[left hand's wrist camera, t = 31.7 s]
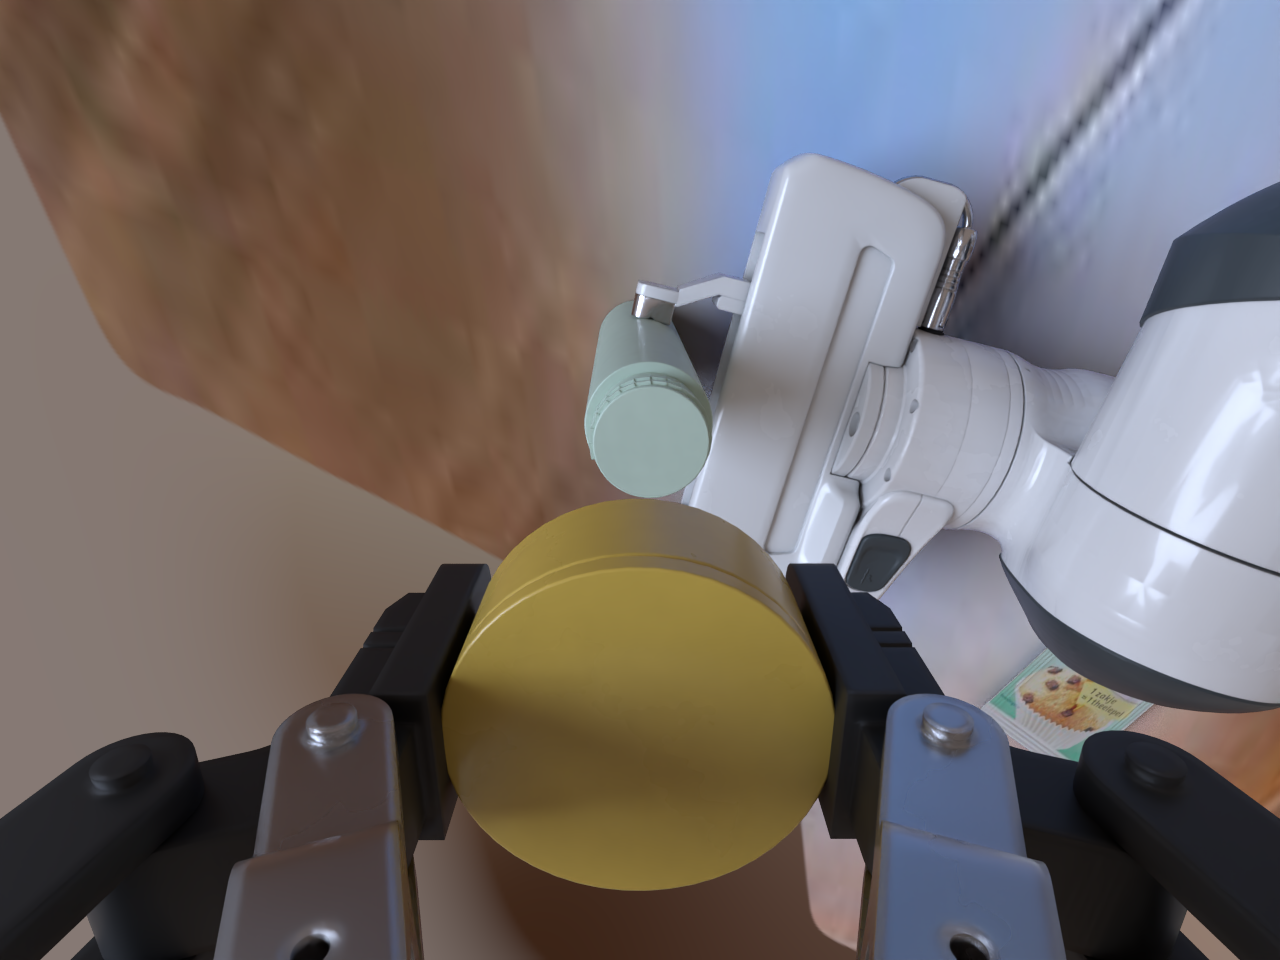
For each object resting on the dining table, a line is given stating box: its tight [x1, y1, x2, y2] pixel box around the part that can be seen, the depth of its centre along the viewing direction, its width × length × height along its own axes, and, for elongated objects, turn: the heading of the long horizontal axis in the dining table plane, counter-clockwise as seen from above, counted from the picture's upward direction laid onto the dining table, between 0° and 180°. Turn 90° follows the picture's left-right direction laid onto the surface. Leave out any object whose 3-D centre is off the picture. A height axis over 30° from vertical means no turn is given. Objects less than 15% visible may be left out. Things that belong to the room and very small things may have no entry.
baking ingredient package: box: [980, 648, 1154, 762], centre depth 45 cm, size 9×1×15 cm
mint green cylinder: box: [585, 300, 713, 498], centre depth 30 cm, size 4×4×18 cm
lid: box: [441, 499, 835, 891], centre depth 10 cm, size 5×5×2 cm
